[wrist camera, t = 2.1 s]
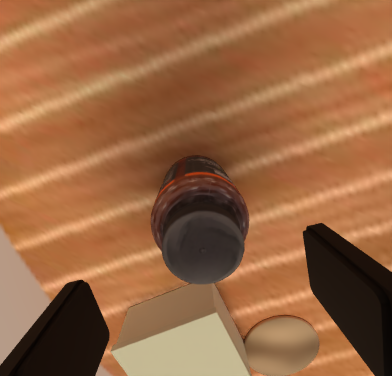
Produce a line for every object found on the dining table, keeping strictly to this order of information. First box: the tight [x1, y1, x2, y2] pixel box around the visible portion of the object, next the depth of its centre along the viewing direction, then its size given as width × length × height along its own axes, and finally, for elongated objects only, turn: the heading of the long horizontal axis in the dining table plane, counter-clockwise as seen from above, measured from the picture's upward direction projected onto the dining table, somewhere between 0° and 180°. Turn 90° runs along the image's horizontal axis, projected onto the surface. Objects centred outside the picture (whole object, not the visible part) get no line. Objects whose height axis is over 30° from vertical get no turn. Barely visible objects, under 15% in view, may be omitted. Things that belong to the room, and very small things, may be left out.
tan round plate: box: [244, 315, 319, 376], centre depth 27 cm, size 9×9×1 cm
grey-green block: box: [111, 283, 252, 376], centre depth 24 cm, size 10×10×5 cm
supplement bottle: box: [151, 156, 249, 284], centre depth 16 cm, size 6×6×11 cm
